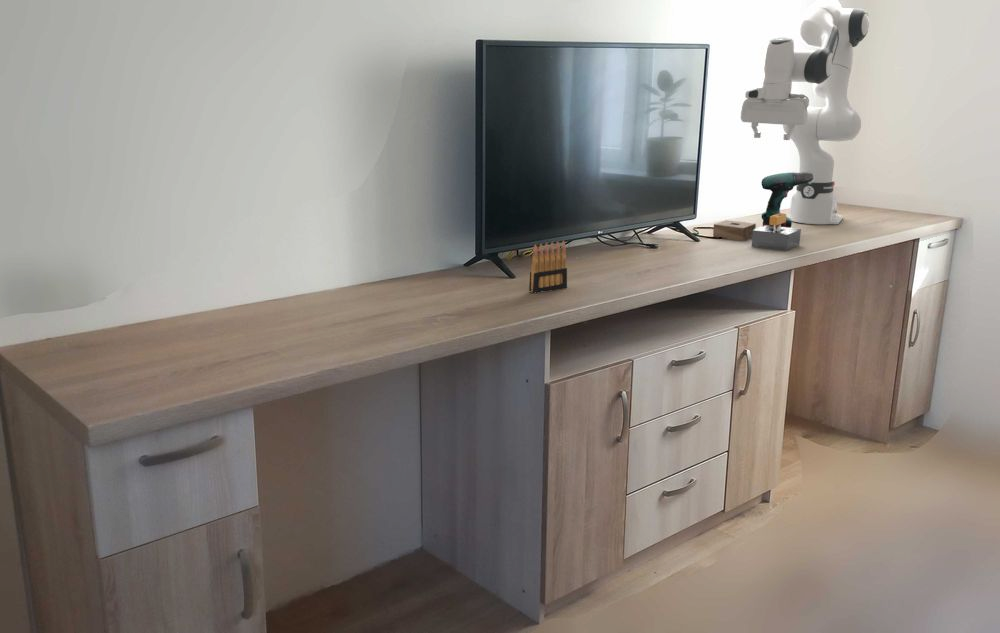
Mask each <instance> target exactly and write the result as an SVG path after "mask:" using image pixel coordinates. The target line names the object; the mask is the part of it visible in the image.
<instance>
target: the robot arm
mask: <svg viewBox="0 0 1000 633" xmlns="http://www.w3.org/2000/svg"><path fill="white" fill-rule="evenodd" d="M869 27H870V17H869V14H868V12H867V11H866V10H865V9H863V8H855V7H854V8H843V7H842V5H841V4H840V2H839V0H816V1H814V2H813V3H812V4H811V5H810V6H809V7H808V8H807V9H806V10H805V12H804V13H803V15H802V16H801V18H800V19H799V21H798V25H797V34H798V36H799V38H800V40H801V41H802V43H803V44H805V45H807V46H808V47H812V48H818V49H795V44H794V43H795V42H794V40H793V39H792V38H789V37H777V38H776V37H775V38H772V39H770V40H768V42H767V44H766V47H765V52H764V59H763V67H762V68H763V78H762V81H761V86H760V87H756V88H754V89H751V90H746V92H745V94H744V95H745V98H746V99H744V101H743V103H742V106H741V112H740V120H741V122H742V123H748V124H749V123H751V126H750V127H751V129H752V131H753V138H754V139H761V135H762V132H761V131H759V129H758V128H757V127H758V126H759V124H768V125H782V128H783V131H784V133H783V141H790V140H791V141H792V142H793V143H794V146H796V148H797V151H798V155H799V172H798V173H801V172H809V173H812V174H813V175H814V177H813V180H812V181H810V182H807V183H803V184H799V185H796V186H795V187H796V192H795V193H793V194H792V195H791V199H790V204H789V205H790V206H789V212H788V214H787V215H786V217H788V218H790V219H791V220H792V222H795V223H799V224H808V225H839V224H840V223H841V221H842V219H843V215H841V214H839V213H838V214H837V210H838V201H837V199H836V196H835V195H834V187H835V183H836V182H835V181H834V180H833V178H834V167H835V160H834V158H833V156H832V154H830V153H829V152H827V151H825V150H824V149H822V148H821V146H820V142H819V141H826V142H827V141H828V142H844V141H845V142H846V141H847V142H848V141H853V140H854V139H855V138H856V137H857V136H858V135H859V133H860V131H861V128H862V120H861V117H860V115H859V113H858V112H857V111H856V110H854V109H853V107H852V105H851V104H850V103H849V99H848V86H849V81H850V76H851V72H852V68H853V56H854V48H856V47H857V46H859V45H858V44H859V43H860V42H862V41H863V40H864V39H865V37H867V34H868V31H869V29H870V28H869ZM793 83H808V84H813V85H812V89H813V90H812V91H813V94H814V95H815V96H816V97H817V98H818V99H820V100H822V101H823V102H826V105H825V106H824V107H818V106H817V107H816V106H809V104H810V103H809V102H810V100H809V98H808V97H809V96H806V94H803V93H801V94H798V93H792V86H793V85H792V84H793Z"/></svg>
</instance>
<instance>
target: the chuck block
mask: <svg viewBox="0 0 1000 633" xmlns="http://www.w3.org/2000/svg"><path fill="white" fill-rule="evenodd" d="M801 232H802V229H801V228H793V227H791V228H786V227H781V229H780V231H774V226H770V225H765V226H763V225H762V226H759V227H758V228H756V229H755V230H753V235H752V237H751V247H753V248H762V249H769V250H775V251H776V250H777V251H782V250H783V251H782V252H788V251H790V250H793V249H795V248H797V247H799V246H800V244H801V235H802V234H801ZM794 247H795V248H794ZM792 248H793V249H792Z"/></svg>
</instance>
